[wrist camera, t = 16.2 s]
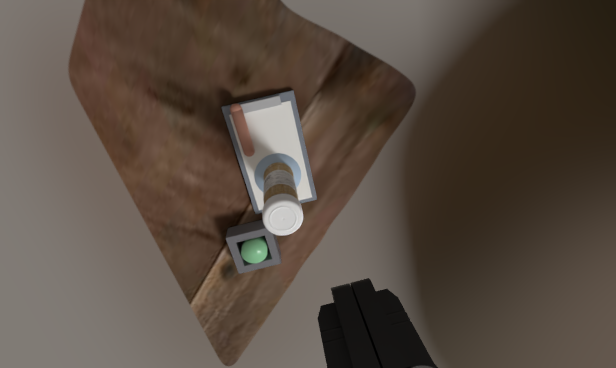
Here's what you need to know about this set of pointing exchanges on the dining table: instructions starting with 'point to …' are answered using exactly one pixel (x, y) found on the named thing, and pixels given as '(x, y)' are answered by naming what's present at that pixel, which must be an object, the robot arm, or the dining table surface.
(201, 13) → the dining table surface
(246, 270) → the button box
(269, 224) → the sprinkles bottle
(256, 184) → the tray with round recess
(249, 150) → the pink rounded rod
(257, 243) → the button
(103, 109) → the dining table surface
